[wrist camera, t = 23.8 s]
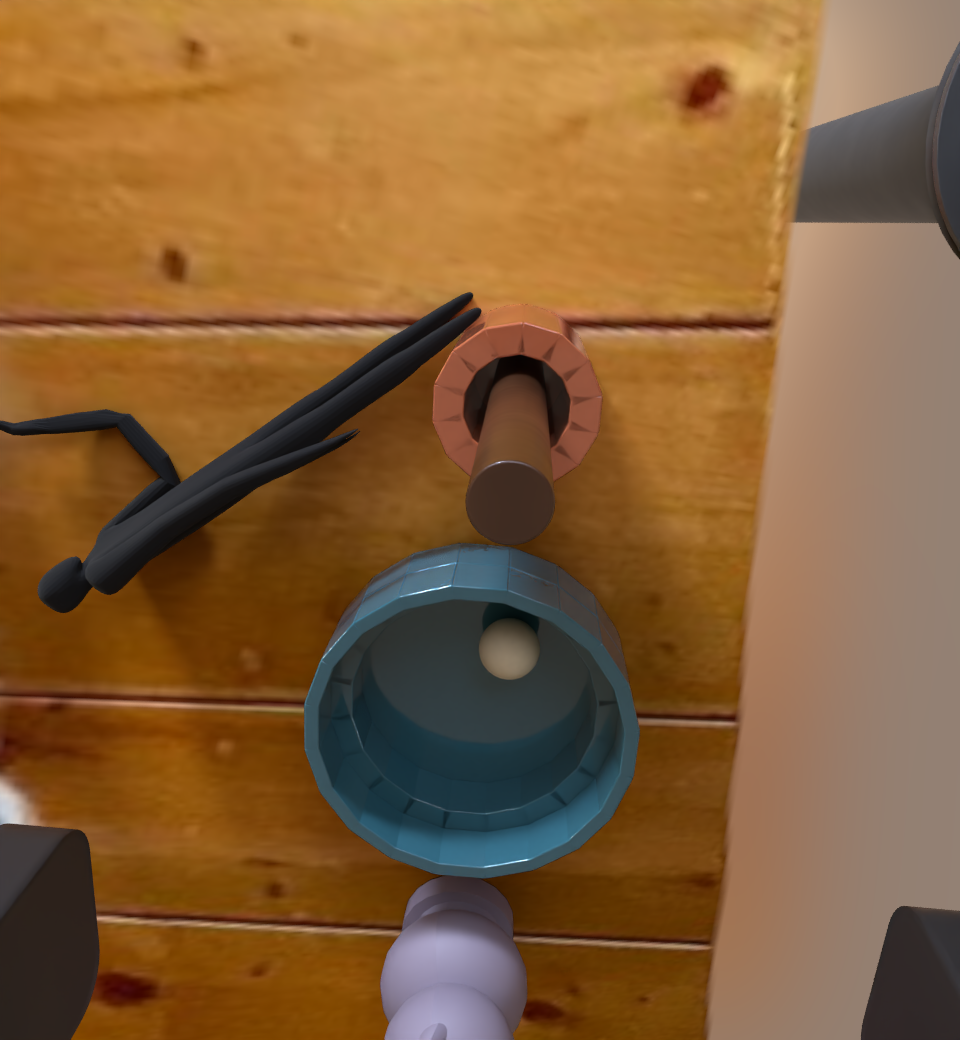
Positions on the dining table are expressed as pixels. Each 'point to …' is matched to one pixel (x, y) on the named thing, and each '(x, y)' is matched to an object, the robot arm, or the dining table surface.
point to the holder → (473, 373)
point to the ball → (509, 648)
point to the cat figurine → (454, 966)
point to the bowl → (472, 715)
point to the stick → (513, 457)
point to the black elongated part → (230, 459)
